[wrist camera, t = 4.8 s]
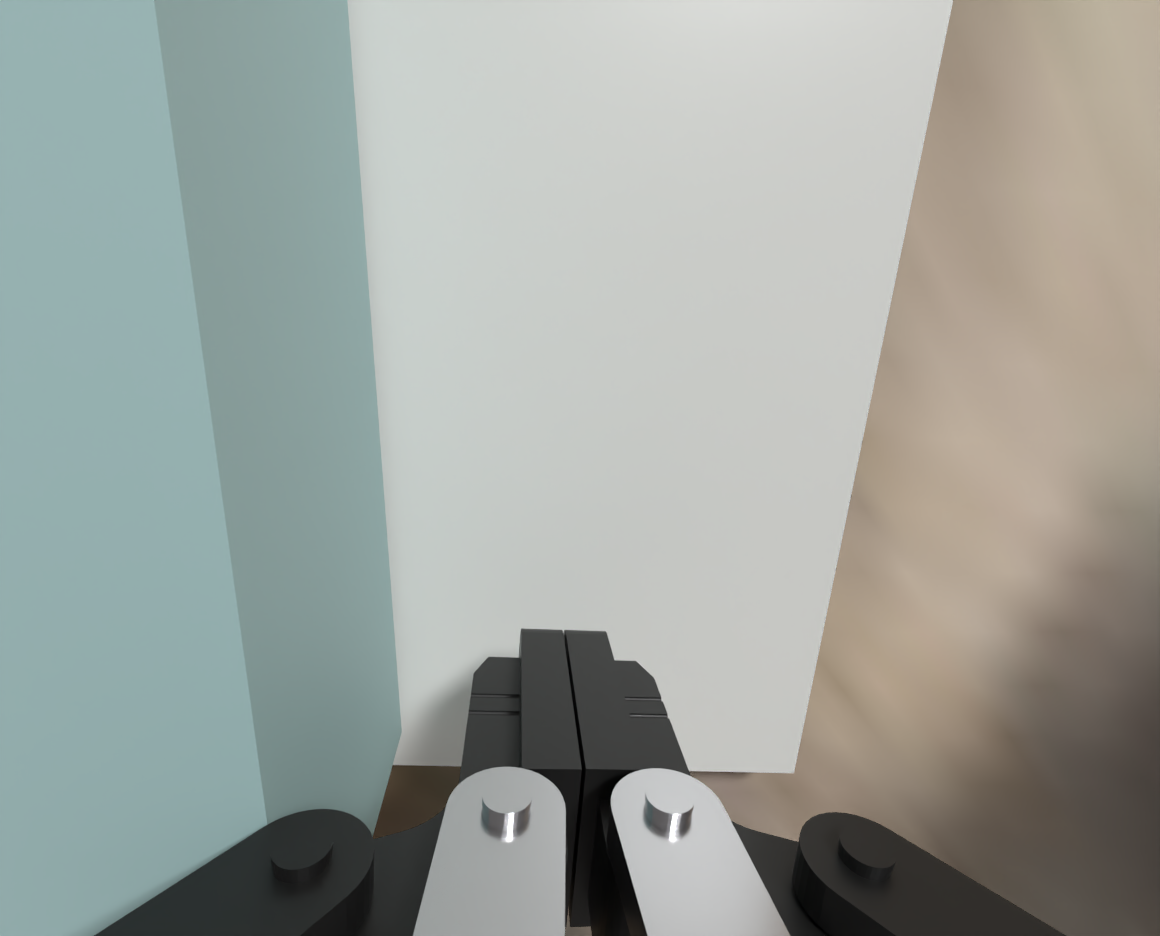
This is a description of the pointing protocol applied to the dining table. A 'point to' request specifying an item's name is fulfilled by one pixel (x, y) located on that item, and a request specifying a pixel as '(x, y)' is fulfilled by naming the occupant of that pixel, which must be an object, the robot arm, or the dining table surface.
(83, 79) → the arm
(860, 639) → the dining table surface
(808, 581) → the board
